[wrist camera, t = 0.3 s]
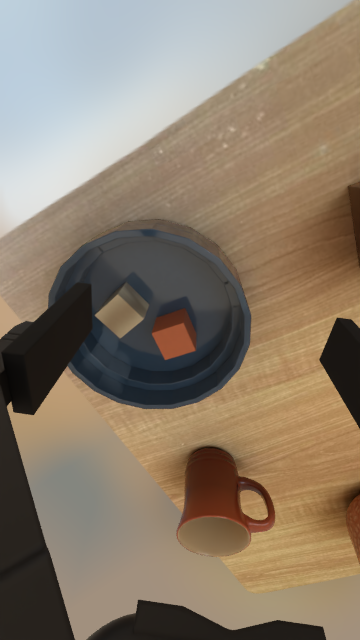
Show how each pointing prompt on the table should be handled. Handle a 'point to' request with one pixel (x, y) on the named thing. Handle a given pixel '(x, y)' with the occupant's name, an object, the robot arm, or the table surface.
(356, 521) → the planter
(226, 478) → the mug
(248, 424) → the table surface
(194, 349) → the terracotta block
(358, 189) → the stand
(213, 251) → the bowl
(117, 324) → the cream block
